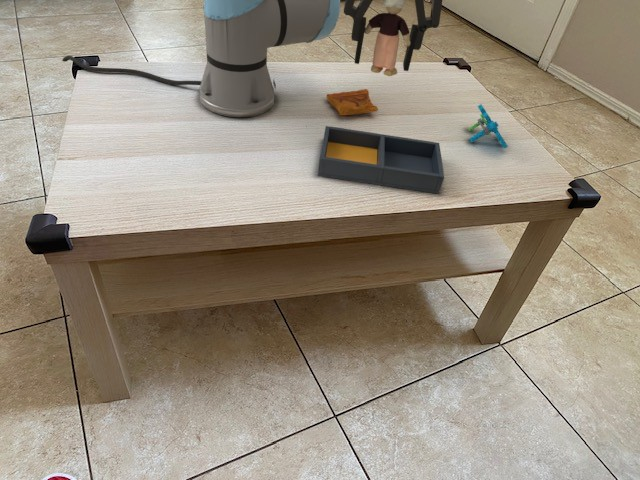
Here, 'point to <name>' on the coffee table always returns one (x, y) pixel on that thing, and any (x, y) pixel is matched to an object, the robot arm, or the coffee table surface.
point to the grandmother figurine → (388, 37)
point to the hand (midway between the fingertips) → (381, 63)
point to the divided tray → (381, 160)
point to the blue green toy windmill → (486, 127)
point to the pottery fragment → (352, 102)
